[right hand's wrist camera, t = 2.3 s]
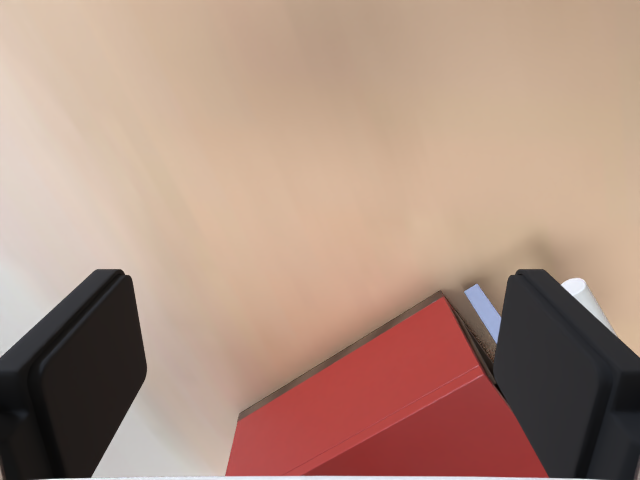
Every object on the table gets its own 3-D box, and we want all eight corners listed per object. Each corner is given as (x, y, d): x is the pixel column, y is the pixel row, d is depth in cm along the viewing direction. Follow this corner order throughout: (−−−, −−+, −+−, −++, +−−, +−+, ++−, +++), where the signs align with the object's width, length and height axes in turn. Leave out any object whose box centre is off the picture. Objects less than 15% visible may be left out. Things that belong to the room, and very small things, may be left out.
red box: (440, 290, 36) (484, 373, 27) (502, 376, 40) (562, 479, 30) (239, 413, 41) (213, 523, 31) (309, 482, 44) (306, 601, 34)
